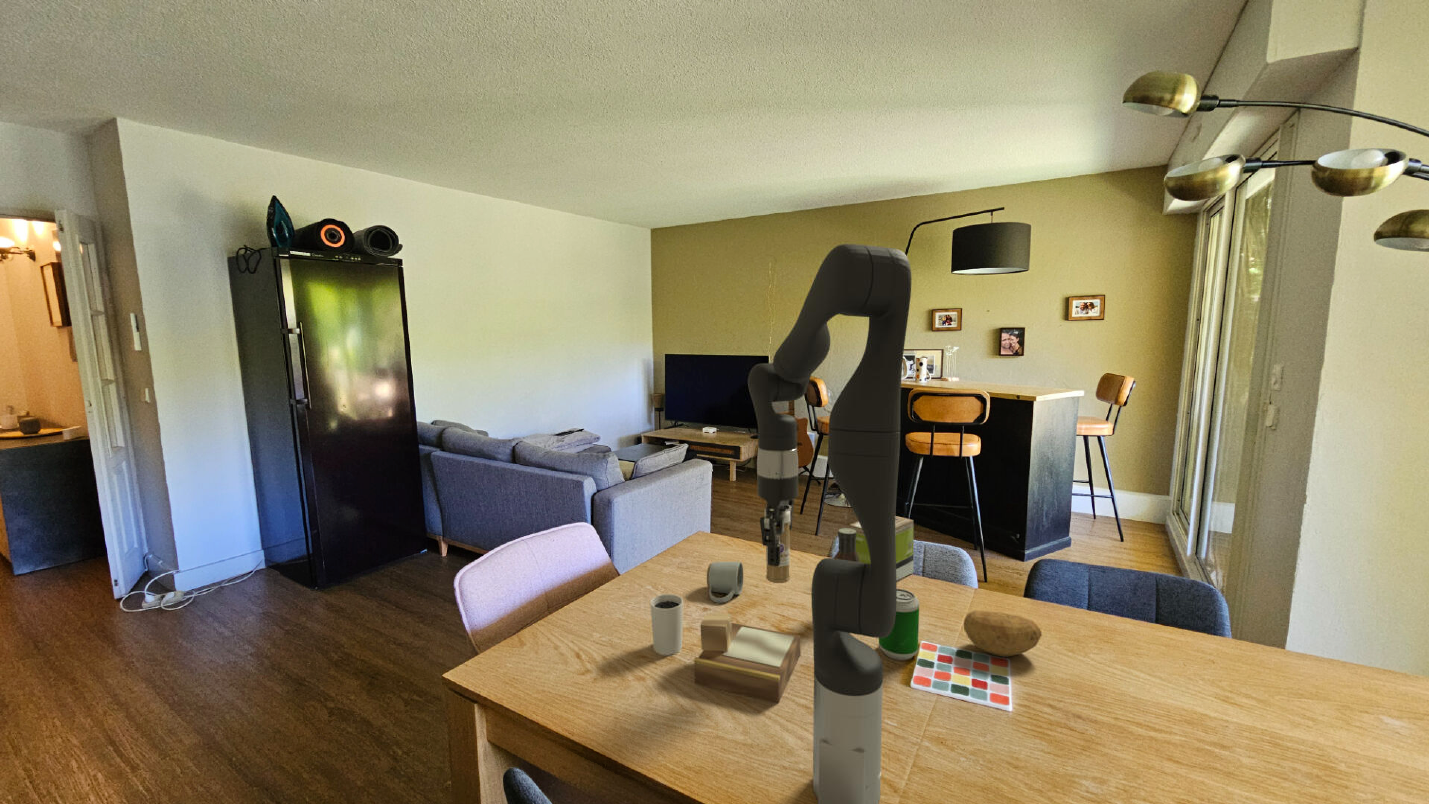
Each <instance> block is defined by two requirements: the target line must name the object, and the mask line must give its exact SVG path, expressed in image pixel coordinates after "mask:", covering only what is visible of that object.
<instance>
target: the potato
mask: <svg viewBox="0 0 1429 804" xmlns="http://www.w3.org/2000/svg"><path fill="white" fill-rule="evenodd" d="M963 629H964V632H965V634H966V635H967V638H968V639H969V640H970V642H972V643H973V644H974V645H975V646H976V647H977V648H979V649H980V650H982V651H983V652H986V653H989V654H991V655H994V656H997V657H998V656H999V657H1003V658H1004V657H1005V658H1007V657H1013V656H1017V655H1020V654H1023V653H1026V652H1028V651H1030V650H1031V649H1034V648H1035V647H1036V646H1037V645H1038V643H1039V641H1040V639H1041V637H1042V635H1043V634H1042V631H1041V628H1040V627H1039V626H1038V624H1037V623H1036V622H1035V621H1034V620H1032V619H1030V618H1027V617H1025V616H1022V615H1017V614H1012V613H1005V612H1001V611H991V610H990V611H989V610H981V609H980V610H978V609H976V610H972V611H970V612H968V613H967V614H966V615H965V618H964V620H963Z"/></svg>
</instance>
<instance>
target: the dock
mask: <svg viewBox="0 0 1429 804" xmlns="http://www.w3.org/2000/svg"><path fill="white" fill-rule="evenodd" d="M732 633H733V639H732V642H731V644H730V647H729V649H728V652H722V651H708V650H702V652H701V653H700V655H699V656H698V657H695V658H694V659H693V666H694V667H693V668H694V669H693V670H694V672H693V673H694V684H696V683H697V685H700V684H701V686H706V687H709V688H714V689H718V690H722V691H726V692H731V693H734V694H739V695H743V696H747V697H751V698H756V699H761V700H765V701H769V702H773V703H777V704H779V703H780V702H781V698H782V696H783V694H784V692H785V691H786V687H787V685H788V683H789V681H790V678H791V677H792V675H793V672H794V671H795V668H796V666H797V663H798V661H799V660H800V657H801V652H802V651H801V644H802V643H801V641H802V640H801V635H799V634H798V635H797V634H792V633H789V632H788V633H786V632H781V631H776V630H771V629H765V628H761V627H755V626H749V625H744V624H739V623H733V622H732Z"/></svg>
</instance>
